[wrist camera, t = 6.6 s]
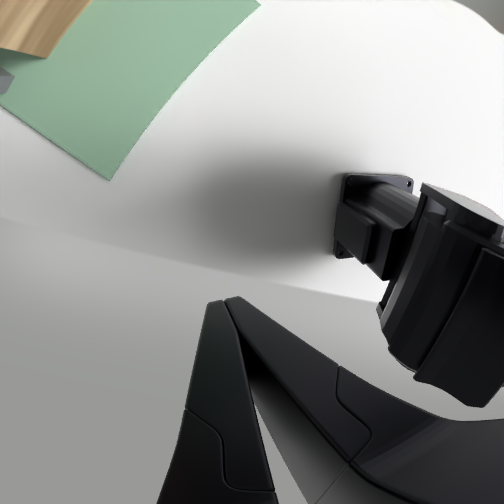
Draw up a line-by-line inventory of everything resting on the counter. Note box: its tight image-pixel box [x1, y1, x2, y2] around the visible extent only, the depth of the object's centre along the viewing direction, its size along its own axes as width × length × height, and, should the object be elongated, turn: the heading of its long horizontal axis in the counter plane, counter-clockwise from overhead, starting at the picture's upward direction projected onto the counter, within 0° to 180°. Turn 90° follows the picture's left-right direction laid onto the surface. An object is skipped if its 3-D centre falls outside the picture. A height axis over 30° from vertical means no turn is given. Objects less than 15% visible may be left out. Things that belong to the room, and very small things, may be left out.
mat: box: [0, 0, 261, 181], centre depth 10 cm, size 22×14×1 cm, turn 49°
